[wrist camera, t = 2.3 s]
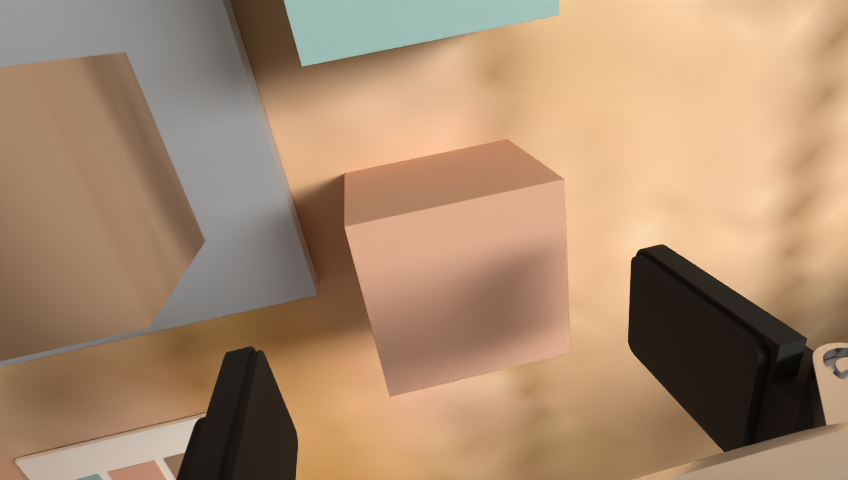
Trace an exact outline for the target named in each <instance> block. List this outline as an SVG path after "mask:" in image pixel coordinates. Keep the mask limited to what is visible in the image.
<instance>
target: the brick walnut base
mask: <svg viewBox="0 0 848 480" xmlns="http://www.w3.org/2000/svg"><path fill="white" fill-rule="evenodd" d="M204 242H205V239H204V237H203V234H202V232H201V230H200V227H199V225H198V222H197V220H196V218H195V215H194V213H193V211H192V208H191V206H190V203H189V201H188V199H187V196H186V194H185V192H184V189H183V187H182V184H181V182H180V180H179V177H178V175H177V173H176V170H175V168H174V165H173V163H172V161H171V158H170V156H169V154H168V151H167V149H166V147H165V144H164V142H163V139H162V137H161V135H160V132H159V130H158V128H157V125H156V123H155V120H154V118H153V116H152V113H151V111H150V109H149V106H148V104H147V101H146V99H145V97H144V94H143V92H142V90H141V87H140V85H139V82H138V80H137V78H136V75H135V73H134V71H133V68H132V66H131V63H130V61H129V59H128V56H127V54H126V52H121V53H113V54H104V55H96V56H88V57H79V58H71V59H62V60H54V61H46V62H37V63H29V64H20V65H12V66H6V67H0V361H5V360H9V359H13V358H18V357H22V356H27V355H31V354H36V353H40V352H45V351H49V350H53V349H58V348H62V347H67V346H71V345H76V344H80V343H85V342H89V341H93V340H98V339H102V338H107V337H111V336H116V335H120V334H125V333H129V332H133V331H138V330H142V329H147V328H149V327H150V325H151V324H152V322H153V321H154V319H155V318H156V316H157V315H158V313H159V312H160V310H161V309H162V307H163V306H164V304H165V302H166V301H167V299H168V298H169V296H170V295H171V293H172V292H173V290H174V289H175V287H176V286H177V284H178V282H179V281H180V279H181V278H182V276H183V275H184V273H185V272H186V270H187V269H188V267H189V266H190V264H191V262H192V261H193V259H194V258H195V256H196V255H197V253H198V252H199V250H200V249H201V247H202V246H203V244H204Z"/></svg>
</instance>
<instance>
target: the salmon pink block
mask: <svg viewBox="0 0 848 480" xmlns="http://www.w3.org/2000/svg"><path fill="white" fill-rule="evenodd" d="M344 227H345V231H346V235H347V239H348V242H349V246H350V250H351V254H352V257H353V261H354V265H355V268H356V272H357V276H358V280H359V283H360V287H361V291H362V294H363V298H364V302H365V306H366V309H367V313H368V317H369V321H370V324H371V328H372V332H373V335H374V339H375V343H376V347H377V350H378V354H379V358H380V361H381V365H382V369H383V373H384V376H385V380H386V384H387V387H388V391H389V395H390V397H391V396H395V395H399V394H403V393H407V392H411V391H416V390H420V389H424V388H428V387H432V386H436V385H440V384H444V383H448V382H453V381H457V380H461V379H465V378H469V377H473V376H477V375H481V374H486V373H490V372H494V371H498V370H502V369H506V368H510V367H514V366H519V365H523V364H527V363H531V362H535V361H539V360H543V359H547V358H552V357H556V356H560V355H564V354H568V353H571V350H570V322H569V294H568V266H567V238H566V210H565V182H564V179H563V178H562V177H561V176H559V175H558V174H556V173H555V172H553V171H552V170H551V169H549V168H548V167H546V166H545V165H543V164H542V163H541V162H539V161H538V160H536V159H535V158H533V157H532V156H531V155H529V154H528V153H526V152H525V151H523V150H522V149H521V148H519V147H518V146H516V145H515V144H513V143H512V142H511V141H509V140H508V139H507V140H502V141H497V142H492V143H488V144H483V145H478V146H473V147H469V148H464V149H459V150H454V151H449V152H445V153H440V154H435V155H430V156H425V157H421V158H416V159H411V160H406V161H401V162H397V163H392V164H387V165H382V166H378V167H373V168H368V169H363V170H358V171H354V172H349V173H345V197H344Z"/></svg>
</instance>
